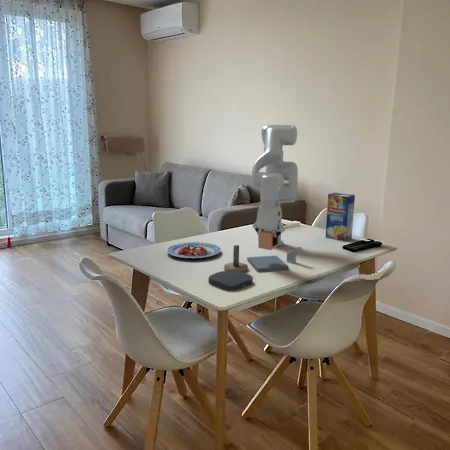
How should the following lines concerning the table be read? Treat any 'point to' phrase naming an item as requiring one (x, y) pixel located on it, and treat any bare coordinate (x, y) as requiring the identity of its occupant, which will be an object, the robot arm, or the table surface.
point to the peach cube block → (266, 240)
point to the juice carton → (340, 216)
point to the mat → (267, 263)
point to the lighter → (293, 255)
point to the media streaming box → (230, 280)
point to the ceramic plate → (193, 250)
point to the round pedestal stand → (236, 262)
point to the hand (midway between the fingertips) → (267, 244)
